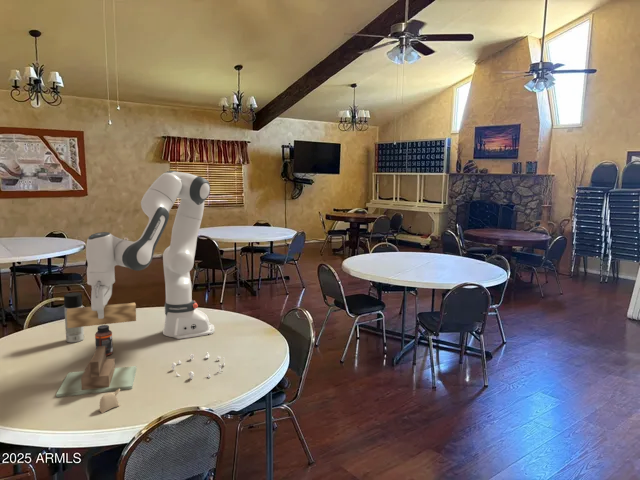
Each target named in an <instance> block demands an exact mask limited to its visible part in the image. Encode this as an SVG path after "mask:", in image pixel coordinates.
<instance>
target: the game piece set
mask: <svg viewBox="0 0 640 480" xmlns="http://www.w3.org/2000/svg"><path fill="white" fill-rule="evenodd" d="M189 356H190V359H194V357H195V355H194V354H193V353H191V354H190V355H189ZM204 359H210V353H209V352H206V354H205V355H204ZM217 359H221V360H222V359H223V362H222V364H221V363H218V369H217V370H218V371H221V370H222V368H221V367H222V366H223V367H225V366H226V363H225V357H224V356H223V357H221V356H220V355H217V356H216V360H217ZM177 365H182V361H181V359H179V360H178V361H177V363H176V362H172V363H171V370H172V371H173V370H174V371H175V370H176V366H177ZM224 365H225V366H224ZM210 368H211V367H208V370H210ZM218 371H217V372H218ZM217 372H216V373H217ZM218 373H219V372H218ZM175 375H176V377H178V376H180V377H181V375H180V374H179V373H178V372H177V371H175ZM188 376H189V379H190V380H193V378H194V376H195V373H194V372H193V371H189V373H188ZM207 377H208V378H210V377H212V375H211V374H210V373H208V375H206V378H207ZM208 378H207V379H208Z"/></svg>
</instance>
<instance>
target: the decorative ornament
mask: <svg viewBox="0 0 640 480" xmlns="http://www.w3.org/2000/svg"><path fill="white" fill-rule="evenodd" d="M120 391H121V390H120V389H118V390H116V391H114V392H109V393H105V394H104V395H102V396H101V397H100V400H99V409H98V410H99V412H101V413H102V414H103V413H105V412H107V411H109V410H111V409H113V408H116V407H121V404H120V403H119V400H118V397H117V395H118V394H119V392H120Z"/></svg>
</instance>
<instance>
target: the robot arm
mask: <svg viewBox="0 0 640 480" xmlns="http://www.w3.org/2000/svg"><path fill="white" fill-rule="evenodd" d="M210 193H211V185H210V182H209V180H208V179H206V178H204V177H202V176H198V175H196V174H192V173H190V172H182V171H177V170H168V171H165V172H164V173H162V174H161V175H160V176H158V177H157V178H156V179H155V180H154V181H153V182H152V183H151V185H150V186H149V188H147V190H146V192H145V193H144V194H143V196H142V199H141V200H140V206H141V209H142V212H143V213H144V214H145V215H146V216H147V217H148V222H147V224H146V226H145V228H144V230H143V232H142V234H141V236H140V237H139V238H138V239H137V240H135V241H133V240H127V239H124V238H120V237H117V236H116V235H113V234H112V233H111V232H110V231H109V232H107V231H102V232H95V233H93V234H91V235H89V236H88V238H87V240H86V245H85V246H86V247H85V257H86V258H85V259H86V262H87V268H86V279H87V280H86V281H87V282H86V283H87V285H88V286H91V296H90V300H91V301H90V303H91V305H90V307H91V309H92V311H97V313H98V318H99V319H103V318H104V307H105V306H106V305H108V303H109V300H110V299H111V297H112V295H113V284H114V283H116V276H115V275H116V274H115V273H116V271H115V267H116V266H120V267H123V268H124V267H125V268H128V269H129V270H133V271H137V272H138V271H142V270H145V269H146V268H148V267H149V265H151V263H152V260H153V257H154V254H155V250H156V248H157V245H158V243H159V241H160V239H161V237H162V235H163V233H164V231H165V229H166V227H167V224H168V221H169V218H170V213H171V212H170V211H171V209H172V208H173V206H174V204H175V203H176V202H177V199H180V202H179V205H178V207H177V210H176V214H175V218H174V222H173V225H172V229H171V237H170V245H169V246H168V247H166V248H165V250H164V251H163V252H162V253H163V254H162V263H163V264H162V265H163V276H164V284H165V302H164V315H165V319H164V326H163V330H162V335H164V336H166V337H170V338H174V339H177V340H179V339H180V340H182V339H189V338H194V337H202V336H206V335H207V336H208V334H209V335H212V334H214V332H215V330H216V329H215V325H214V324H213V323H211V322H210V320H209V317H208V315H207V314H206V313H205V312H203V311H201V310H200V309H199V308H198V307H199V305H198V303H197V302H196V300H193V299H192V297H193V296H192V293H193V292H192V281H191V280H192V279H191V274H190V273H191V272H190V271H192V269H193V267H194V264H195V256H196V250H197V242H198V235H199V231H200V229H201V224H202V220H203V216H204V209H205V201H206V200H207V199H208V198H209V196H210Z"/></svg>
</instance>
